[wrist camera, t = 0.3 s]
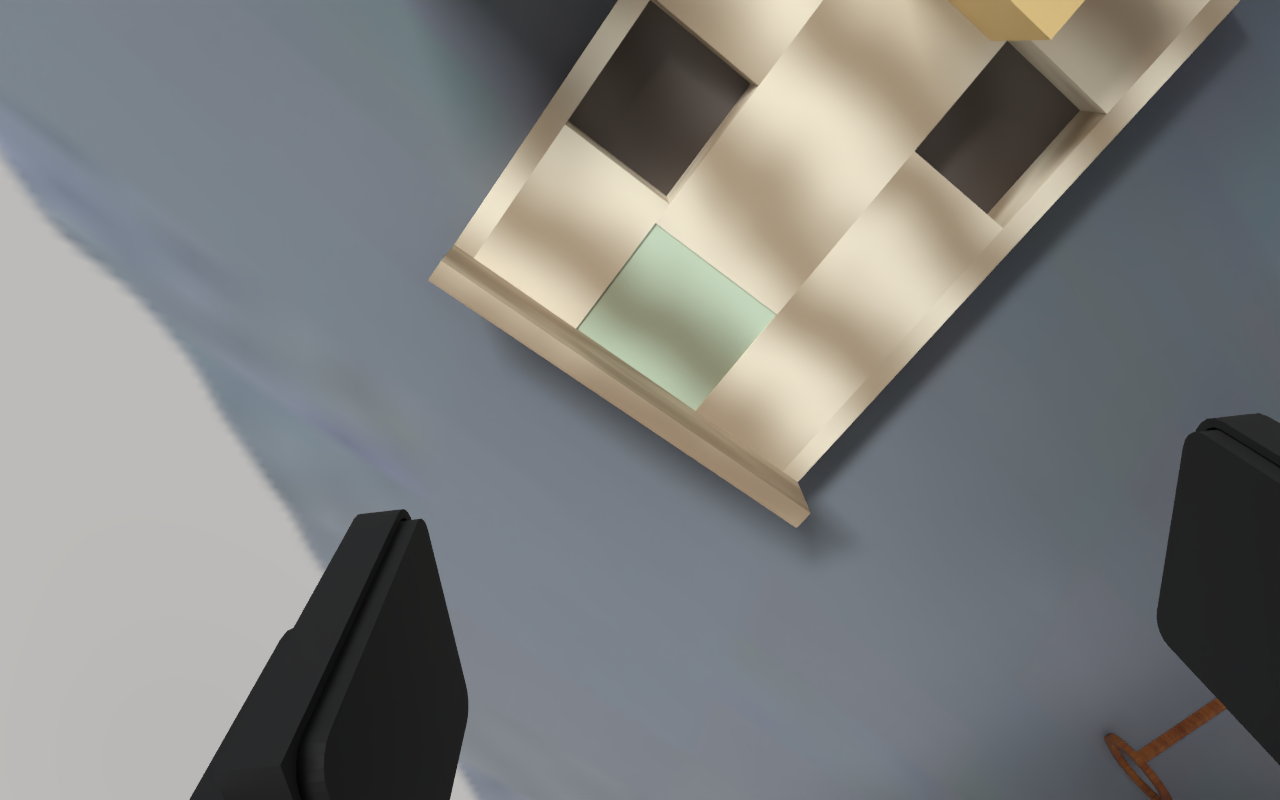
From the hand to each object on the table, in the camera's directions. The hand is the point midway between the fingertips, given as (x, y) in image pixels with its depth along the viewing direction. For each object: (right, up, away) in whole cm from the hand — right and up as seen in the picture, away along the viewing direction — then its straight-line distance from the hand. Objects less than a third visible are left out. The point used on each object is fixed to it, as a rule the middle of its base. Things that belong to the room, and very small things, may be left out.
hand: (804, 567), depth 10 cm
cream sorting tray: (+6, +15, +27) cm, 31 cm away
